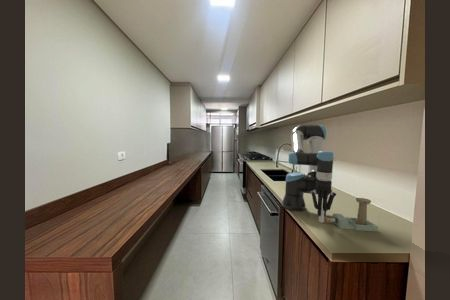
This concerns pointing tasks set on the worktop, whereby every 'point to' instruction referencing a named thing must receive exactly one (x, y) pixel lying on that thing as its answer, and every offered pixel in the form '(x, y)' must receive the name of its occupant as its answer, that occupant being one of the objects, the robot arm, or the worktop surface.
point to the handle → (362, 210)
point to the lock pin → (330, 220)
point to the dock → (353, 223)
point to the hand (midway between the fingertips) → (321, 221)
